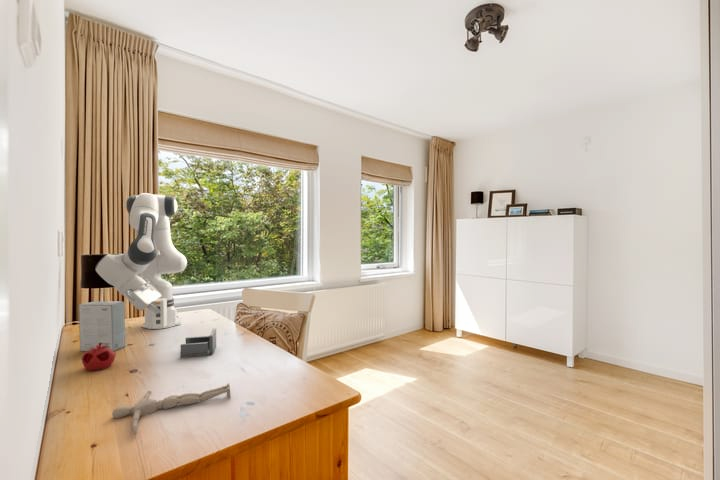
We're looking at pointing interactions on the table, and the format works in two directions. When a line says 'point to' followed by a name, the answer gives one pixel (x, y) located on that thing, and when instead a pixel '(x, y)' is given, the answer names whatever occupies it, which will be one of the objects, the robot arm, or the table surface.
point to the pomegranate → (98, 358)
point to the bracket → (199, 345)
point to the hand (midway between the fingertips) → (161, 310)
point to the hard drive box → (102, 325)
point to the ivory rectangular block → (160, 313)
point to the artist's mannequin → (165, 403)
